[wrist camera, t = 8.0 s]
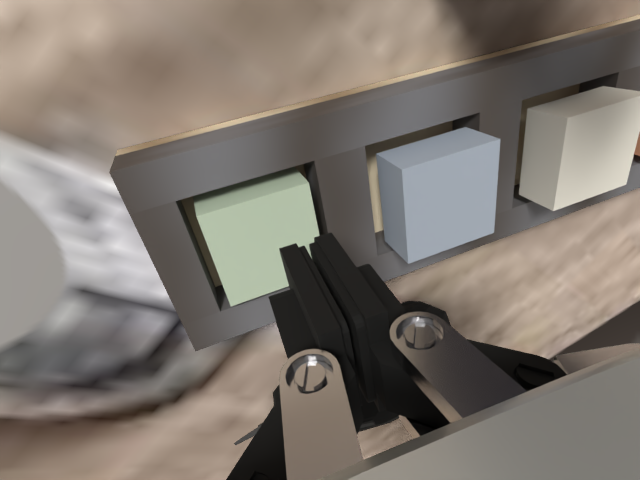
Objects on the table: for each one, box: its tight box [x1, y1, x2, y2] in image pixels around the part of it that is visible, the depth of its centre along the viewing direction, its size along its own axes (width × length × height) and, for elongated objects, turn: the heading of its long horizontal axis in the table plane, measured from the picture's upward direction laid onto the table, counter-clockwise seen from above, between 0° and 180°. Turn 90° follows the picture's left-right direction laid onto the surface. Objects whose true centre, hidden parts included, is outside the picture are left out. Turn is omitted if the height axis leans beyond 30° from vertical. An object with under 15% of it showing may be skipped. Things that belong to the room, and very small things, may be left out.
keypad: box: [110, 15, 640, 351], centre depth 18 cm, size 29×8×3 cm, turn 100°
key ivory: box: [519, 86, 640, 211], centre depth 17 cm, size 4×4×2 cm
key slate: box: [376, 127, 500, 264], centre depth 16 cm, size 4×4×2 cm
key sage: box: [193, 167, 320, 306], centre depth 16 cm, size 4×4×2 cm
